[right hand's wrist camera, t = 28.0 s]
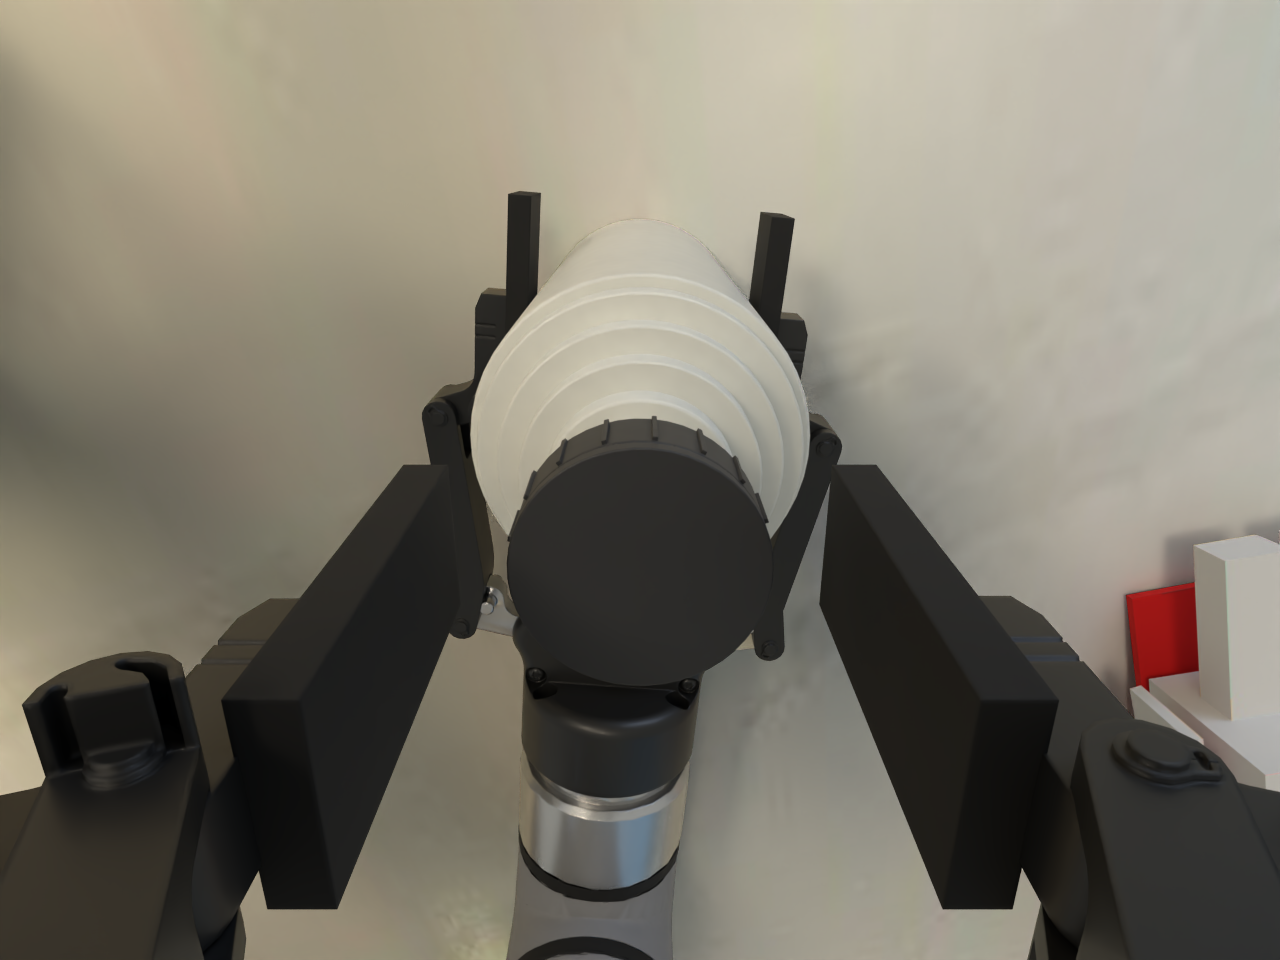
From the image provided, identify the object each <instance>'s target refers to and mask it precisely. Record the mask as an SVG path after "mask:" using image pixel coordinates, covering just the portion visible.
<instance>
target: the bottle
mask: <svg viewBox="0 0 1280 960" xmlns="http://www.w3.org/2000/svg"><path fill="white" fill-rule="evenodd" d="M652 416H657V420H663V421H669V422H672V423H676V424H680V425H683V426H686V427H688V428H690V429H693V430H695V431H697V429H698V428H699V429H701V430H702V432H703V435H705V436H706V437H708V438H710V439H712V440H713V441H714V442H716V443H717V444H718V445H719V446H721V447H722V448H723V449H725V450H726V451H727V452H728V453H729V454H730V455H731V456H732V457H734V456H735V455H736V456H737V458H738V459H739V462H740V465H741V468H742V470H743V471H744V473H745V474H746V476H747V478H748V480H749V482H750V483H751V485H752V487H753V490H754V493H759V495H760V498H761V501H762V504H763V507H764V509H765V512H766V515H767V518H768V521H769V523H766V527H767V530H768V533H769V536H770V539H771V538H772V536H773V535H774V533H775V532H776V530H777V529H778V528H779V526H780V525H781V523H782V522H783V520H784V518H785V517H786V515H787V514H788V512H789V510H790V508H791V506H792V504H793V502H794V501H795V499H796V497H797V494H798V492H799V489H800V486H801V483H802V481H803V478H804V474H805V470H806V465H807V460H808V455H809V443H810V425H809V412H808V407H807V402H806V397H805V393H804V390H803V387H802V384H801V381H800V378H799V376H798V373H797V371H796V369H795V367H794V365H793V363H792V361H791V359H790V357H789V355H788V353H787V352H786V350H785V349H784V348H783V346H782V345H781V343H780V342H779V341H778V339H777V338H776V336H775V335H774V334H773V332H772V331H771V330H770V328H769V327H768V326H767V325H766V323H765V322H764V321H763V319H762V318H761V317H760V315H759V314H758V313H757V312H756V310H755V309H754V308H753V306H752V305H751V304H750V303H749V301H748V300H747V299H746V297H745V296H744V295H743V294H742V292H741V291H740V290H739V288H738V287H737V286H736V285H735V283H734V282H733V281H732V279H731V278H730V277H729V276H728V274H727V273H726V272H725V270H724V269H723V268H722V266H721V265H720V264H719V263H718V261H717V260H716V259H715V257H714V256H713V255H712V254H711V252H710V251H709V250H708V249H707V248H706V247H705V246H704V245H703V244H702V243H701V242H700V241H699V240H697V239H696V238H695V237H694V236H693V235H691V234H689V233H688V232H686V231H684V230H683V229H681V228H679V227H676V226H674V225H672V224H669V223H665V222H662V221H658V220H650V219H630V220H623V221H619V222H615V223H611V224H609V225H606V226H604V227H602V228H599V229H597V230H596V231H594V232H593V233H591V234H589V235H588V236H586V237H585V238H584V239H583V240H581V241H580V242H579V243H578V244H577V245H576V246H575V247H574V248H573V249H572V250H571V251H570V253H569V254H568V255H567V256H566V258H565V259H564V260H563V262H562V263H561V264H560V266H559V267H558V268H557V269H556V271H555V272H554V273H553V275H552V276H551V277H550V278H549V280H548V281H547V282H546V284H545V285H544V286H543V288H542V289H541V290H540V291H539V293H538V294H537V295H536V297H535V298H534V299H533V301H532V302H531V303H530V304H529V306H528V307H527V308H526V310H525V311H524V312H523V313H522V315H521V316H520V317H519V319H518V320H517V321H516V323H515V324H514V325H513V326H512V328H511V329H510V330H509V332H508V333H507V334H506V336H505V337H504V338H503V340H502V341H501V343H500V344H499V345H498V347H497V348H496V350H495V351H494V353H493V354H492V356H491V358H490V360H489V362H488V364H487V366H486V368H485V370H484V372H483V374H482V377H481V380H480V383H479V386H478V388H477V391H476V395H475V400H474V405H473V410H472V417H471V434H470V436H471V449H472V458H473V463H474V467H475V472H476V476H477V479H478V482H479V485H480V487H481V490H482V493H483V496H484V498H485V500H486V502H487V503H488V505H489V507H490V509H491V511H492V513H493V515H494V516H495V518H496V519H497V521H498V523H499V524H500V525H501V527H502V528H503V530H504V531H505V533H506V534H507V535H508V536H509V533H510V530H511V527H512V524H513V522H514V519H515V516H516V513H517V510H520V508H521V506H522V503H523V500H524V499H523V497H524V494H525V491H526V488H527V485H528V482H529V479H530V476H531V473H532V472H533V470H534V471H536V472H537V471H538V469H539V468H540V467H541V465H542V464H543V463H544V462H545V460H546V459H547V458H548V457H549V456H550V455H551V454H552V453H553V452H554V451H555V450H556V449H557V448H558V447H560V445H561V442H562V440H563V439H565V438H566V439H567V440H569V439H571V438H572V437H574V436H576V435H578V434H580V433H582V432H583V431H585V430H588V429H590V428H593V427H595V426H598V425H601V424H604V420H606V419H609V422H613V421H617V420H625V419H652Z"/></svg>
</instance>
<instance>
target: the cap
mask: <svg viewBox="0 0 1280 960" xmlns="http://www.w3.org/2000/svg"><path fill="white" fill-rule="evenodd" d="M523 499H524V500H523V503H522V506H521V508H520V510H517V513H516V516H515V519H514V522H513V524H512V527H511V530H510V533H509V536H508V541H509V542H510V543H509V547H508V556H507V579H508V584H509V589H510V594H511V597H512V600H513V603H514V606H515V609H516V611H517V613H518V615H519V617H520V618H521V620H522V622H523V624H524V625H525V627H526V628H527V630H528V631H529V633H530V634H531V635H532V637H533V638H534V639H535V640H536V641H537V642H538V643H539V644H540V645H541V647H542V648H543V649H545V650H546V651H547V652H548V653H549V654H551V655H552V656H553V657H554V658H555V659H557V660H558V661H560V662H561V663H563V664H565V665H566V666H568V667H569V668H571V669H573V670H575V671H577V672H579V673H581V674H584V675H586V676H589V677H592V678H595V679H597V680H601V681H606V682H610V683H614V684H622V685H631V686H649V685H659V684H666V683H671V682H675V681H680V680H683V679H686V678H689V677H692V676H695V675H697V674H699V673H701V672H703V671H706V670H708V669H710V668H711V667H713V666H714V665H716V664H718V663H719V662H721V661H723V660H724V659H725V658H726V657H728V656H729V655H730V654H731V653H733V652H734V651H735V650H736V649H737V648H738V647H739V646H740V645H741V644H742V643H743V642H744V641H745V640H746V639H747V637H748V636H749V635H750V634H751V632H752V631H753V630H754V628H755V627H756V625H757V623H758V622H759V620H760V618H761V616H762V614H763V613H764V610H765V608H766V605H767V602H768V600H769V597H770V592H771V588H772V584H773V574H774V559H773V549H772V544H771V540H770V536H769V533H768V530H767V527H766V523H769V521H768V518H767V515H766V512H765V509H764V507H763V504H762V501H761V498H760V495H759V493H754V490H753V487H752V485H751V483H750V482H749V480H748V478H747V476H746V474H745V473H744V471H743V470H742V468H741V465H740V462H739V459H738V458H737V456H736V455H735V456H734V457H732V456H731V455H730V454H729V453H728V452H727V451H726V450H725V449H723V448H722V447H721V446H719V445H718V444H717V443H716V442H714V441H713V440H712V439H710V438H708V437H706V436H705V435H703V432H702V430H701V429H699V428H698V429H697V431H695V430H693V429H690V428H688V427H686V426H683V425H680V424H676V423H672V422H669V421H663V420H657V416H652V419H625V420H617V421H613V422H609V419H606V420H604V424H601V425H598V426H595V427H593V428H590V429H588V430H585V431H583V432H582V433H580V434H578V435H576V436H574V437H572V438H571V439H569V440H567V439H566V438H565V439H563V440H562V442H561V445H560V447H558V448H557V449H556V450H555V451H554V452H553V453H552V454H551V455H550V456H549V457H548V458H547V459H546V460H545V462H544V463H543V464H542V465H541V467H540V468H539V469H538V471H537V472H536V471H534V470H533V472H532V473H531V476H530V479H529V482H528V485H527V488H526V491H525V494H524V497H523Z"/></svg>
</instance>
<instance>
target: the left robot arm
mask: <svg viewBox="0 0 1280 960" xmlns="http://www.w3.org/2000/svg"><path fill="white" fill-rule="evenodd" d="M540 202H541V193H536V192H524V191H518V192H514V193H510V194H508V229H507V275H506V289H497V288H487V289H486V290H485V291H484V292H483V293H481V295H480V298H479V300H478V303H477V305H476V307H475V375H474V379H473V380H471V381H469V382H466V383H462V384H459V385H451V384H450V385H447V386H444V387H443V388H442V389H440V390H439V392H438V393H437V394H436V395H435V396H434V397H433V398H432V400H431V401H430V402H429V403H428V404H427V405H426V407H425V408H424V410H423V412H422V421H423V426H424V431H425V436H426V442H427V447H428V452H429V457H430V463H431V465H448V471H449V482H450V493H451V504H452V515H453V526H454V537H455V548H456V559H457V570H458V581H459V592H460V603H461V605H460V607H459V610H458V612H457V615H456V617H455V619H454V622H453V624H452V627H451V629H450V632H449V633H450V634H451V635H453V636H454V637H457V638H460V639H465V638H469V637H471V636H472V635H473V634H474V633H475V631H476V629H481V630H486V631H490V632H494V633H499V634H503V635H507V636H512V637H513V641H514V644H515V646H516V648H517V649H518V651H519V652H520V654H521V656H522V659H523V663H524V682H523V710H522V744H523V749H522V754H521V758H520V797H519V854H518V868H517V882H516V897H515V907H514V916H513V923H512V929H511V935H510V941H509V947H508V953H507V959H506V960H673V953H672V905H673V893H674V882H675V871H676V860H677V853H678V849H679V842H680V837H681V833H682V827H683V819H684V811H685V803H686V796H687V788H688V780H689V769H690V761H689V759H690V756H691V753H692V748H693V740H694V733H695V725H696V717H697V709H698V702H699V694H700V686H701V680H702V676H703V674H704V672H705V671H703V672H701V673H699V674H697V675H695V676H692V677H689V678H686V679H683V680H680V681H675V682H671V683H666V684H659V685H649V686H631V685H622V684H614V683H610V682H606V681H601V680H597V679H595V678H592V677H589V676H586V675H584V674H581V673H579V672H577V671H575V670H573V669H571V668H569V667H568V666H566V665H565V664H563V663H561V662H560V661H558V660H557V659H555V658H554V657H553V656H552V655H551V654H549V653H548V652H547V651H546V650H545V649H543V648H542V647H541V645H540V644H539V643H538V642H537V641H536V640H535V639H534V638H533V637H532V635H531V634H530V633H529V631H528V630H527V628H526V627H525V625H524V624H523V622H522V620H521V618H520V617H519V615H518V613H517V611H516V609H515V606H514V603H513V602H512V601H511V599H510V598H509V596H508V589H507V585H506V583H505V582H504V581H503V579H502V577H501V576H499V575H492V574H493V568H494V551H493V543H492V537H491V531H490V525H489V519H488V513H487V507H486V501H485V498H484V496H483V493H482V490H481V487H480V485H479V482H478V479H477V476H476V472H475V467H474V463H473V458H472V449H471V436H470V434H471V417H472V410H473V405H474V400H475V395H476V391H477V388H478V386H479V383H480V380H481V377H482V374H483V372H484V370H485V368H486V366H487V364H488V362H489V360H490V358H491V356H492V354H493V353H494V351H495V350H496V348H497V347H498V345H499V344H500V343H501V341H502V340H503V338H504V337H505V336H506V334H507V333H508V332H509V330H510V329H511V328H512V326H513V325H514V324H515V323H516V321H517V320H518V319H519V317H520V316H521V315H522V313H523V312H524V311H525V310H526V308H527V307H528V306H529V304H530V303H531V302H532V301H533V299H534V298H535V297H536V295H537V286H538V258H539V230H540ZM794 220H795V219H794V218H791V217H789V216H786V215H783V214H778V213H766V212H761V213H760V221H759V229H758V237H757V244H756V252H755V260H754V267H753V275H752V283H751V290H750V298H749V303H750V304H751V305H752V306H753V308H754V309H755V310H756V312H757V313H758V314H759V315H760V317H761V318H762V319H763V321H764V322H765V323H766V325H767V326H768V327H769V328H770V330H771V331H772V332H773V334H774V335H775V336H776V338H777V339H778V341H779V342H780V343H781V345H782V346H783V348H784V349H785V350H786V352H787V353H788V355H789V357H790V359H791V361H792V363H793V365H794V367H795V369H796V371H797V373H798V376H799V378H800V380H801V373H802V367H803V361H804V354H805V348H806V342H807V331H806V327H805V322H804V320H803V319H802V318H801V317H800V316H799V315H798V314H795V313H783V312H781V310H782V303H783V296H784V290H785V283H786V276H787V269H788V262H789V255H790V248H791V241H792V234H793V227H794ZM809 425H810V443H809V455H808V460H807V465H806V470H805V474H804V478H803V481H802V483H801V486H800V489H799V492H798V494H797V497H796V499H795V501H794V502H793V504H792V506H791V508H790V510H789V512H788V514H787V515H786V517H785V518H784V520H783V522H782V523H781V525H780V526H779V528H778V529H777V530H776V532H775V533H774V535H773V536H772V538H771V539H770V540H771V544H772V549H773V559H774V574H773V584H772V588H771V592H770V597H769V600H768V602H767V605H766V608H765V610H764V613H763V614H762V616H761V618H760V620H759V622H758V623H757V625H756V627H755V628H754V630H753V631H752V632H751V634H750V635H749V636H748V637H747V639H746V640H745V641H744V642H743V643H742V644H741V645H740V646H739V647H738V648H737V649H736V650H743V649H755V652H756V655H757V656H758V657H759V658H761V659H763V660H766V661H772V660H775V659H777V658H779V657H780V656H781V655H782V653H783V652H784V622H783V610H784V607H785V604H786V601H787V599H788V596H789V593H790V590H791V588H792V585H793V582H794V580H795V577H796V574H797V571H798V569H799V566H800V563H801V560H802V558H803V555H804V552H805V549H806V547H807V544H808V541H809V538H810V536H811V533H812V530H813V528H814V525H815V522H816V519H817V517H818V514H819V511H820V508H821V506H822V503H823V500H824V497H825V495H826V492H827V489H828V486H829V484H830V481H831V471H832V465H837V462H838V459H839V456H840V454H841V449H842V444H841V441H840V439H839V438H838V436H837V435H836V433H835V432H834V431H833V429H832V428H831V426H830V425H829V424H828V422H827V421H826V420H825V419H824V417H823V416H821V415H819V414H812V413H809Z"/></svg>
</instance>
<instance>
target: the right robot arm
mask: <svg viewBox="0 0 1280 960" xmlns="http://www.w3.org/2000/svg"><path fill="white" fill-rule="evenodd" d="M460 605H461V603H460V592H459V581H458V570H457V559H456V548H455V537H454V526H453V515H452V504H451V493H450V482H449V471H448V465H403V466H402V468H401V469H400V470H399V472H398V473H397V474H396V475H395V477H394V478H393V479H392V481H391V482H390V483H389V484H388V486H387V487H386V488H385V490H384V491H383V492H382V493H381V495H380V496H379V497H378V499H377V500H376V501H375V502H374V504H373V505H372V506H371V508H370V509H369V510H368V511H367V513H366V514H365V515H364V517H363V518H362V519H361V520H360V522H359V523H358V524H357V526H356V527H355V528H354V529H353V531H352V532H351V533H350V535H349V536H348V537H347V538H346V540H345V541H344V542H343V544H342V545H341V546H340V547H339V549H338V550H337V551H336V553H335V554H334V555H333V556H332V558H331V559H330V560H329V562H328V563H327V564H326V565H325V567H324V568H323V569H322V571H321V572H320V573H319V574H318V576H317V577H316V578H315V580H314V581H313V582H312V583H311V585H310V586H309V587H308V589H307V590H306V591H305V592H304V594H303V595H302V596H301V598H300V599H269V600H267V601H265V602H264V603H262V604H260V605H259V606H257V607H255V608H254V609H252V610H250V611H249V612H247V613H246V614H244V615H242V616H241V617H239V618H238V619H237V620H236V621H235V622H234V623H233V624H232V625H231V627H230V628H229V629H228V630H227V631H226V632H225V633H224V635H223V636H222V637H221V638H220V639H219V640H218V645H214V646H213V647H212V648H211V649H210V651H209V652H208V653H207V654H206V655H205V656H204V657H203V658H202V663H201V664H197V665H196V666H195V668H194V669H193V670H192V671H191V672H190V673H189V674H188V676H187V677H186V678H185V676H184V671H183V667H182V664H181V663H180V662H179V661H177V660H176V659H174V658H173V657H172V656H170V655H168V654H162V653H156V652H150V651H144V652H130V653H119V654H115V655H111V656H107V657H103V658H99V659H95V660H91V661H88V662H86V663H84V664H81V665H79V666H76V667H74V668H71V669H69V670H67V671H64V672H62V673H60V674H58V675H57V676H55V677H54V678H52V679H51V680H49V681H47V682H46V683H44V684H43V685H41V686H40V687H38V688H37V689H36V690H35V691H34V692H33V693H32V694H31V695H30V696H29V698H28V699H27V700H26V701H25V702H24V703H23V704H22V707H23V710H24V713H25V716H26V719H27V722H28V725H29V728H30V731H31V734H32V737H33V740H34V743H35V746H36V749H37V752H38V755H39V758H40V761H41V764H42V767H43V770H44V773H45V776H46V778H45V780H44V782H43V784H42V786H41V787H37V788H33V789H29V790H24V791H20V792H15V793H10V794H5V795H0V960H244V953H245V944H246V935H245V928H244V922H243V918H242V913H241V909H240V904H241V902H242V900H243V899H244V897H245V895H246V893H247V891H248V889H249V887H250V885H251V884H252V882H253V880H254V878H255V876H256V874H257V872H258V871H259V874H260V878H261V883H262V887H263V891H264V896H265V900H266V905H267V909H338V906H339V904H340V901H341V899H342V896H343V894H344V891H345V889H346V886H347V884H348V881H349V879H350V876H351V874H352V871H353V869H354V867H355V864H356V862H357V859H358V857H359V854H360V852H361V849H362V847H363V844H364V842H365V839H366V837H367V834H368V832H369V829H370V827H371V825H372V822H373V820H374V817H375V815H376V812H377V810H378V807H379V805H380V802H381V800H382V797H383V795H384V792H385V790H386V787H387V785H388V783H389V780H390V778H391V775H392V773H393V770H394V768H395V765H396V763H397V760H398V758H399V755H400V753H401V750H402V748H403V745H404V743H405V741H406V738H407V736H408V733H409V731H410V728H411V726H412V723H413V721H414V718H415V716H416V713H417V711H418V708H419V706H420V703H421V701H422V699H423V696H424V694H425V691H426V689H427V686H428V684H429V681H430V679H431V676H432V674H433V671H434V669H435V666H436V664H437V661H438V659H439V657H440V654H441V652H442V649H443V647H444V644H445V642H446V639H447V637H448V634H449V632H450V629H451V627H452V624H453V622H454V619H455V617H456V615H457V612H458V610H459V607H460ZM819 605H820V607H821V610H822V612H823V615H824V617H825V619H826V622H827V624H828V627H829V629H830V632H831V634H832V637H833V639H834V642H835V644H836V647H837V649H838V652H839V654H840V657H841V659H842V661H843V664H844V666H845V669H846V671H847V674H848V676H849V679H850V681H851V684H852V686H853V689H854V691H855V694H856V696H857V699H858V701H859V703H860V706H861V708H862V711H863V713H864V716H865V718H866V721H867V723H868V726H869V728H870V731H871V733H872V736H873V738H874V741H875V743H876V745H877V748H878V750H879V753H880V755H881V758H882V760H883V763H884V765H885V768H886V770H887V773H888V775H889V778H890V780H891V783H892V785H893V787H894V790H895V792H896V795H897V797H898V800H899V802H900V805H901V807H902V810H903V812H904V815H905V817H906V820H907V822H908V825H909V827H910V829H911V832H912V834H913V837H914V839H915V842H916V844H917V847H918V849H919V852H920V854H921V857H922V859H923V862H924V864H925V867H926V869H927V871H928V874H929V876H930V879H931V881H932V884H933V886H934V889H935V891H936V894H937V896H938V899H939V901H940V904H941V906H942V909H1013V905H1014V900H1015V896H1016V891H1017V887H1018V883H1019V878H1020V874H1021V869H1022V868H1023V870H1024V872H1025V874H1026V876H1027V878H1028V879H1029V881H1030V883H1031V885H1032V887H1033V889H1034V891H1035V892H1036V894H1037V896H1038V898H1039V900H1040V902H1041V905H1040V909H1039V913H1038V918H1037V922H1036V926H1035V930H1034V934H1033V939H1032V943H1031V947H1030V951H1029V955H1028V959H1027V960H1280V792H1278V791H1273V790H1268V789H1264V788H1259V787H1254V786H1249V785H1245V784H1242V783H1238V782H1237V780H1236V778H1235V776H1234V775H1233V773H1232V772H1231V771H1230V770H1229V768H1228V767H1227V766H1226V764H1225V763H1224V762H1223V760H1222V759H1221V758H1220V757H1219V756H1217V755H1216V754H1215V753H1213V752H1212V751H1211V750H1209V749H1208V748H1207V747H1205V746H1204V745H1202V744H1201V743H1200V742H1198V741H1197V740H1195V739H1192V738H1190V737H1188V736H1186V735H1184V734H1182V733H1180V732H1178V731H1176V730H1174V729H1171V728H1169V727H1165V726H1162V725H1158V724H1155V723H1151V722H1148V721H1144V720H1138V719H1134V718H1133V717H1132V716H1131V715H1130V713H1129V712H1128V711H1127V710H1126V709H1125V708H1124V707H1123V706H1122V704H1121V703H1120V702H1119V701H1118V700H1117V699H1116V698H1115V697H1114V695H1113V694H1112V693H1111V692H1110V691H1109V690H1108V689H1107V688H1106V686H1105V685H1104V684H1103V683H1102V682H1101V681H1100V680H1099V679H1098V677H1097V676H1096V675H1095V674H1094V673H1093V672H1092V671H1091V669H1090V668H1089V667H1088V666H1087V665H1086V664H1085V663H1084V662H1083V661H1079V656H1078V655H1077V654H1076V653H1075V651H1074V650H1073V649H1072V648H1071V647H1070V646H1069V645H1068V644H1067V642H1063V641H1062V637H1061V636H1060V635H1059V633H1058V632H1057V631H1056V630H1055V629H1054V628H1053V627H1052V625H1051V624H1050V623H1049V622H1048V621H1047V620H1046V619H1045V618H1044V616H1043V615H1041V614H1039V613H1038V612H1036V611H1034V610H1033V609H1031V608H1029V607H1028V606H1026V605H1025V604H1023V603H1021V602H1020V601H1018V600H1016V599H1015V598H1013V597H1011V596H978V595H977V594H976V592H975V591H974V590H973V589H972V587H971V586H970V585H969V583H968V582H967V581H966V580H965V578H964V577H963V576H962V574H961V573H960V572H959V571H958V569H957V568H956V567H955V565H954V564H953V563H952V562H951V560H950V559H949V558H948V556H947V555H946V554H945V553H944V551H943V550H942V549H941V547H940V546H939V545H938V544H937V542H936V541H935V540H934V538H933V537H932V536H931V535H930V533H929V532H928V531H927V529H926V528H925V527H924V526H923V524H922V523H921V522H920V520H919V519H918V518H917V517H916V515H915V514H914V513H913V511H912V510H911V509H910V508H909V506H908V505H907V504H906V502H905V501H904V500H903V499H902V497H901V496H900V495H899V493H898V492H897V491H896V490H895V488H894V487H893V486H892V484H891V483H890V482H889V481H888V479H887V478H886V477H885V475H884V474H883V473H882V472H881V470H880V469H879V468H878V466H877V465H832V471H831V482H830V493H829V504H828V515H827V526H826V537H825V548H824V559H823V570H822V581H821V592H820V603H819Z"/></svg>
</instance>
